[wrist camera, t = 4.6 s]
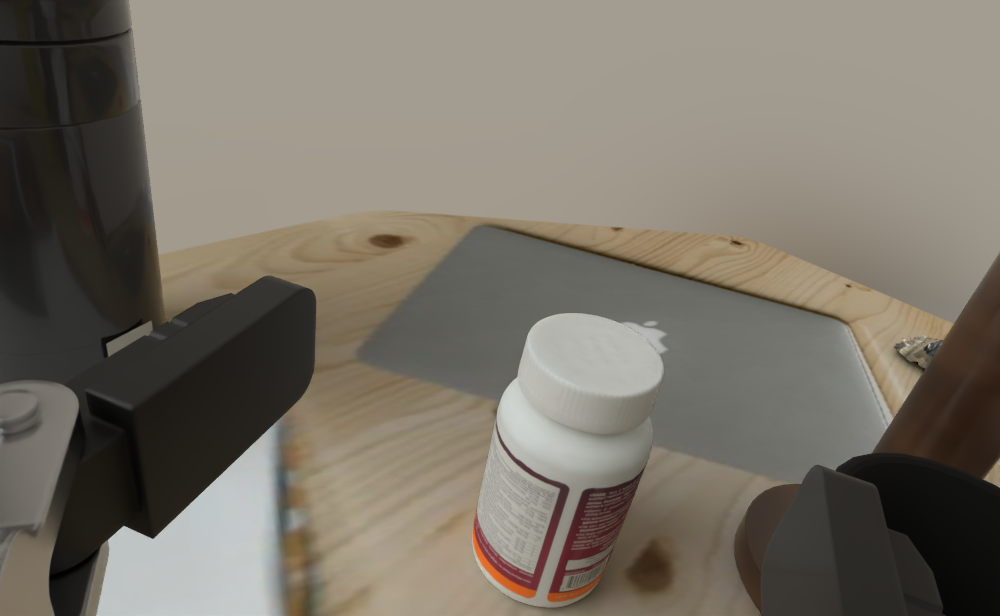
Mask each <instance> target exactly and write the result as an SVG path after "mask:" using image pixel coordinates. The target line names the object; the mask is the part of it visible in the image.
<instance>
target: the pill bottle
mask: <svg viewBox="0 0 1000 616" xmlns="http://www.w3.org/2000/svg"><path fill="white" fill-rule="evenodd" d="M663 376H664V365H663V362H662V359H661V357H660V355H659V353H658V352H657V350H656V349H655V348H654V346H653V345H652V344H651V343H650V342H649V341H648V340H647V339H645V338H644V337H643V336H642V335H640V334H639V333H637V332H636V331H634V330H632V329H631V328H629V327H627V326H625V325H623V324H620V323H618V322H616V321H613V320H610V319H607V318H604V317H600V316H595V315H589V314H581V313H565V314H557V315H553V316H549V317H547V318H544V319H542V320H540V321H539V322H537V323H536V324H535V325H534V326H533V327H532V328H531V330H530V332H529V334H528V336H527V339H526V343H525V347H524V351H523V355H522V358H521V361H520V365H519V370H518V377H517V378H516V379H514V380H513V381H512V382H511V383H510V385H509V386H508V387H507V389H506V390H505V392H504V393H503V396H502V398H501V400H500V404H499V407H498V410H497V416H496V420H495V425H494V430H493V435H492V440H491V445H490V450H489V454H488V459H487V464H486V468H485V472H484V477H483V482H482V486H481V491H480V495H479V500H478V505H477V510H476V515H475V519H474V524H473V531H472V547H473V552H474V555H475V559H476V562H477V564H478V566H479V567H480V569H481V571H482V572H483V574H484V575H485V576H486V578H487V579H488V580H489V581H490V582H491V583H492V584H493V585H494V586H495V587H496V588H498V589H499V590H500V591H501V592H503V593H504V594H506V595H507V596H509V597H511V598H513V599H514V600H517V601H519V602H522V603H525V604H528V605H532V606H537V607H547V608H555V607H562V606H566V605H569V604H572V603H574V602H576V601H578V600H580V599H582V598H584V597H585V596H586V595H588V594H589V593H590V592H591V591H592V590H593V589H594V588H595V586H596V585H597V584H598V582H599V580H600V579H601V577H602V575H603V572H604V570H605V568H606V565H607V563H608V560H609V558H610V555H611V552H612V550H613V547H614V545H615V542H616V540H617V537H618V534H619V532H620V529H621V527H622V524H623V522H624V519H625V517H626V514H627V512H628V510H629V507H630V505H631V502H632V500H633V497H634V495H635V492H636V489H637V487H638V484H639V481H640V479H641V476H642V473H643V471H644V469H645V467H646V464H647V461H648V459H649V455H650V451H651V448H652V442H653V429H652V424H651V420H650V417H649V415H650V413H651V411H652V408H653V406H654V402H655V398H656V396H657V393H658V390H659V388H660V385H661V383H662V379H663Z"/></svg>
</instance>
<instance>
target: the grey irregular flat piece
mask: <svg viewBox="0 0 1000 616" xmlns="http://www.w3.org/2000/svg"><path fill="white" fill-rule="evenodd" d="M918 337H919V336H918ZM909 338H910V337H909ZM902 339H903V340H902V341H904V342H901V343H899V344H896V346H894V347H895V348H896V349H897V351H898V352H899V353H901V354H903V356H904V357H906V358H907V359H906V360H908V361H909V362H912V361H917V362H918V365H920V366H921V367H923V368H926V367H927V366H928V364H929V363H930V361H931V359H932V358H933V356H934V355H935V353H936V352H937V350H938V348H939V347H940V345H941V344H942V342H943V341H944V340H937V339H931V338H929V337H927V336H922V335H920V337H919V338H914V341H915V342H914V341H912V340H911V338H910V340H911V341H910V340H909V341H908V342H907V341H906V340H905V339H904V338H902Z"/></svg>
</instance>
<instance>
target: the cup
mask: <svg viewBox="0 0 1000 616" xmlns="http://www.w3.org/2000/svg"><path fill="white" fill-rule="evenodd" d="M836 471H837V472H840V473H843V474H846V475H848V476H851V477H854V478H857V479H860V480H863V481H866V482H869V483H872V484H874V485H875V486H876V488H877V489H878V492H879V496H880V500H881V504H882V508H883V513H884V517H885V521H886V525H887V528H889V529H891V530H894V531H897V532H900V533H903V534H905V535H907V536H908V537H909V539H910V540H911V542H912V543H913V545H914V546H915V547H916V549H917V550H918V552H919V553H920V554H921V556H922V557H923V559H924V560H925V562H926V563H927V564H928V566H929V567H930V569H931V570H932V571H933V575H934V578H935V581H936V585H937V588H938V591H939V595H940V598H941V601H942V605H943V610H942V614H943V615H946V616H1000V488H999V487H997V486H996V485H994V484H992V483H989V482H987V481H985V480H983V479H981V478H979V477H976V476H974V475H972V474H970V473H968V472H966V471H963V470H961V469H958V468H955V467H952V466H949V465H946V464H943V463H940V462H938V461H935V460H932V459H927V458H922V457H917V456H912V455H907V454H900V453H872V454H867V455H862V456H857V457H853V458H851V459H850V460H848V461H847V462H845V463H843V464H842V465H840V466H839V467H838V468H837V469H836Z"/></svg>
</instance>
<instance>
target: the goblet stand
mask: <svg viewBox="0 0 1000 616" xmlns="http://www.w3.org/2000/svg"><path fill="white" fill-rule="evenodd" d="M872 453H900V454H907V455H912V456H917V457H922V458H927V459H932V460H935V461H938V462H940V463H943V464H946V465H949V466H952V467H955V468H958V469H961V470H963V471H966V472H968V473H970V474H972V475H974V476H976V477H979V478H981V479H984V478H985V476H986V475H987V474H988V473H989V471H990V470H991V469H992V468H993V466H994V465H995V464H996V462H997V461H998V460H999V459H1000V253H999V254H998V256H997V258H996V259H995V261H994V262H993V264H992V265H991V267H990V269H989V270H988V272H987V273H986V275H985V276H984V278H983V279H982V281H981V282H980V284H979V286H978V287H977V289H976V290H975V292H974V293H973V295H972V297H971V298H970V300H969V301H968V303H967V305H966V306H965V308H964V309H963V311H962V312H961V314H960V316H959V317H958V319H957V320H956V322H955V323H954V325H953V326H952V328H951V330H950V331H949V333H948V334H947V336H946V337H945V339H944V341H943V342H942V344H941V345H940V347H939V348H938V350H937V352H936V353H935V355H934V356H933V358H932V359H931V361H930V363H929V364H928V366H927V367H926V369H925V370H924V372H923V374H922V375H921V377H920V378H919V380H918V381H917V383H916V385H915V386H914V388H913V389H912V391H911V392H910V394H909V396H908V397H907V399H906V400H905V402H904V403H903V405H902V406H901V408H900V410H899V411H898V413H897V414H896V416H895V417H894V419H893V421H892V422H891V424H890V425H889V427H888V428H887V430H886V432H885V433H884V435H883V436H882V438H881V439H880V441H879V443H878V444H877V446H876V447H875V449H874V450H873V452H872ZM800 485H801V484H788V485H781V486H776V487H773V488H771V489H768V490H766V491H764V492H763V493H761V494H760V495H758V496H757V497H756V498H755V499H754V500H753V502H752V503H751V505H750V506H749V508H748V510H747V512H746V514H745V516H744V517H743V519H742V521H741V523H740V525H739V527H738V530H737V533H736V536H735V544H734V548H735V559H736V564H737V568H738V571H739V574H740V577H741V579H742V581H743V584H744V586H745V588H746V590H747V592H748V593H749V595H750V597H751V598H752V600H753V602H754V603H755V605H756V606H757V608H758V609H759V610H760V612H761V570H762V564H763V559H764V555H765V552H766V549H767V546H768V543H769V541H770V539H771V537H772V535H773V533H774V531H775V529H776V528H777V526H778V524H779V522H780V520H781V519H782V517H783V515H784V513H785V512H786V510H787V508H788V506H789V505H790V503H791V501H792V499H793V498H794V496H795V494H796V492H797V491H798V489H799V487H800Z"/></svg>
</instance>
